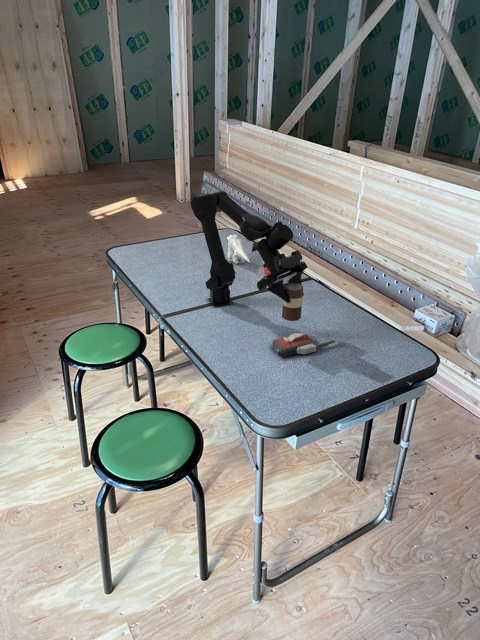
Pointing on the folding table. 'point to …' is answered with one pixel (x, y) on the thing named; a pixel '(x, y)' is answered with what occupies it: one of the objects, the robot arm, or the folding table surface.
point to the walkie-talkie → (296, 344)
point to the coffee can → (293, 302)
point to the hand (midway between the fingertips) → (296, 299)
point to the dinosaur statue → (236, 249)
